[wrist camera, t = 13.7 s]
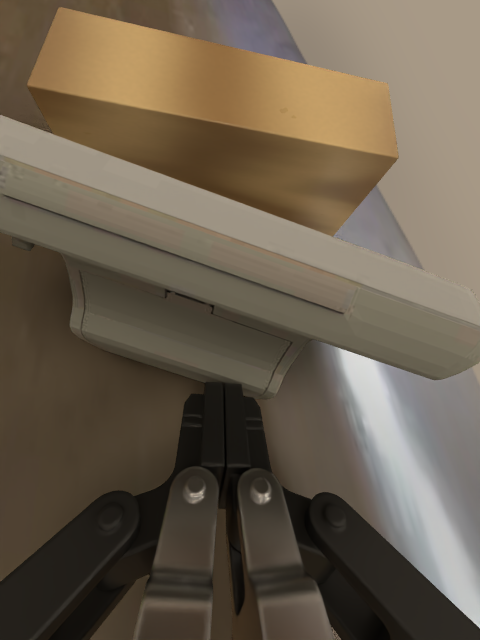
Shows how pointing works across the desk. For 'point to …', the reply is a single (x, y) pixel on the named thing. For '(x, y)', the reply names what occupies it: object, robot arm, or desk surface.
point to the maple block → (218, 116)
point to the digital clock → (218, 274)
